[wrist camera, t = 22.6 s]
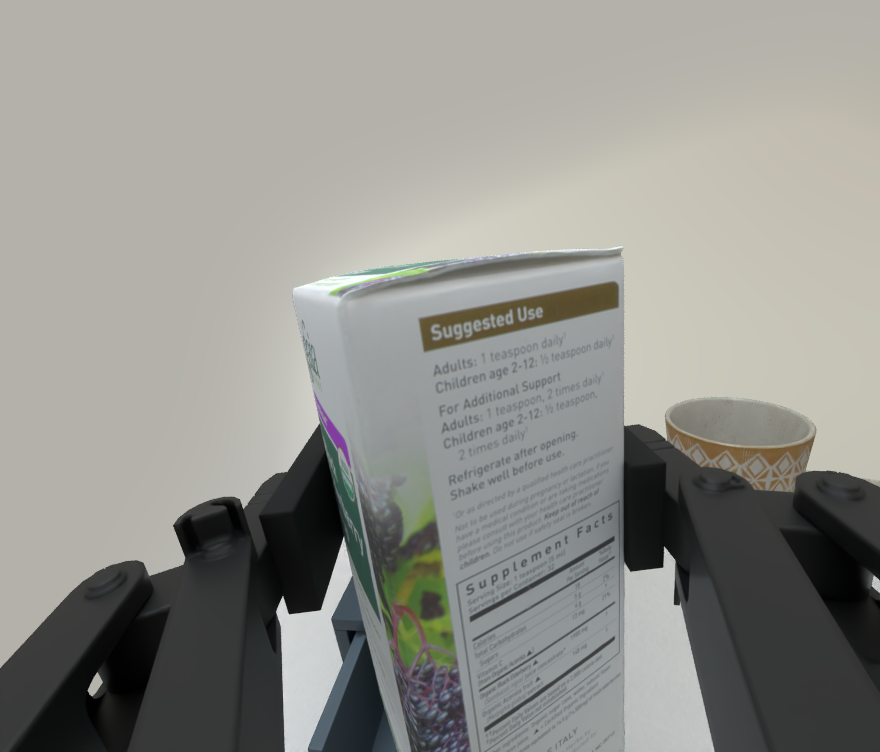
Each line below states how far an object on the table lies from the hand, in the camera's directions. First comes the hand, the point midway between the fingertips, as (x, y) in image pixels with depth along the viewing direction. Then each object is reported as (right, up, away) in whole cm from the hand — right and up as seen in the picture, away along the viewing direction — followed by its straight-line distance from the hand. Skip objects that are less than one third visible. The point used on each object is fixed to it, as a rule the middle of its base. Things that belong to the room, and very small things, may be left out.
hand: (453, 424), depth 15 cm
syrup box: (+1, -10, -2) cm, 10 cm away
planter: (+32, -13, +30) cm, 46 cm away
